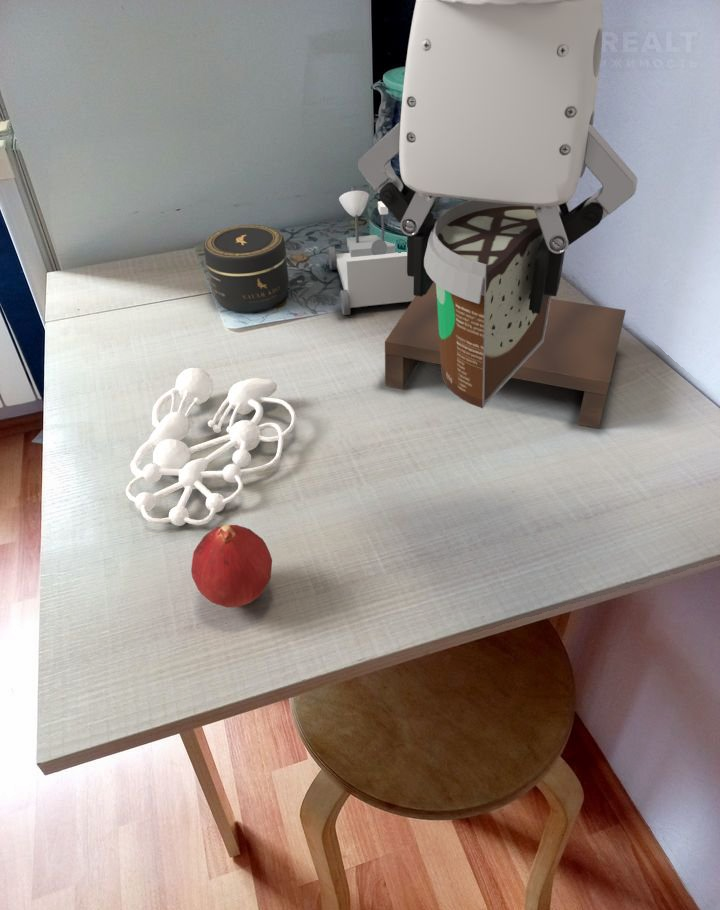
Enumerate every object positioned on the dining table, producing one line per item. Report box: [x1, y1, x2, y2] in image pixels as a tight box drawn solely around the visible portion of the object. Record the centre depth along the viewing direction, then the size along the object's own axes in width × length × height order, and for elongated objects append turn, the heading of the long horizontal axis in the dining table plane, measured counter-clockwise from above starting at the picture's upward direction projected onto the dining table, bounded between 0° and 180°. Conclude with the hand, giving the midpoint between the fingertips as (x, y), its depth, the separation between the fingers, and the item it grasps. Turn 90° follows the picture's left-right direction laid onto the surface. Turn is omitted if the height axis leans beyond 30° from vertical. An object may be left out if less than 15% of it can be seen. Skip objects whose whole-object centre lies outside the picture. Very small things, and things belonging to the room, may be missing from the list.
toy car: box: [327, 186, 415, 316], centre depth 90 cm, size 18×10×12 cm
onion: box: [190, 524, 273, 608], centre depth 52 cm, size 6×6×8 cm
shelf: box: [384, 282, 626, 429], centre depth 75 cm, size 22×14×6 cm, turn 68°
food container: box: [424, 200, 553, 409], centre depth 45 cm, size 12×6×10 cm, turn 145°
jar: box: [203, 224, 289, 314], centre depth 88 cm, size 10×10×8 cm
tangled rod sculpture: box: [125, 367, 297, 527], centre depth 66 cm, size 19×14×4 cm
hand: (480, 292), depth 45 cm, fingers closed on food container, 6 cm apart
